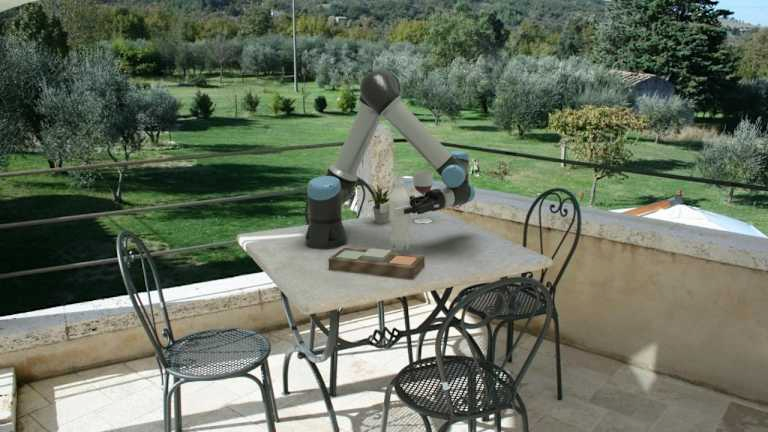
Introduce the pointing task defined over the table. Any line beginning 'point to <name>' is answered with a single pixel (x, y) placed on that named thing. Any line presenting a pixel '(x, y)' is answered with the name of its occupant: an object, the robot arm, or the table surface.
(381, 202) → the house plant
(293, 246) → the table surface
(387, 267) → the keypad
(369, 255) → the key middle
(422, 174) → the wineglass
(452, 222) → the table surface
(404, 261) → the orange square block
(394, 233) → the water bottle
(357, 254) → the key sage
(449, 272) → the table surface
